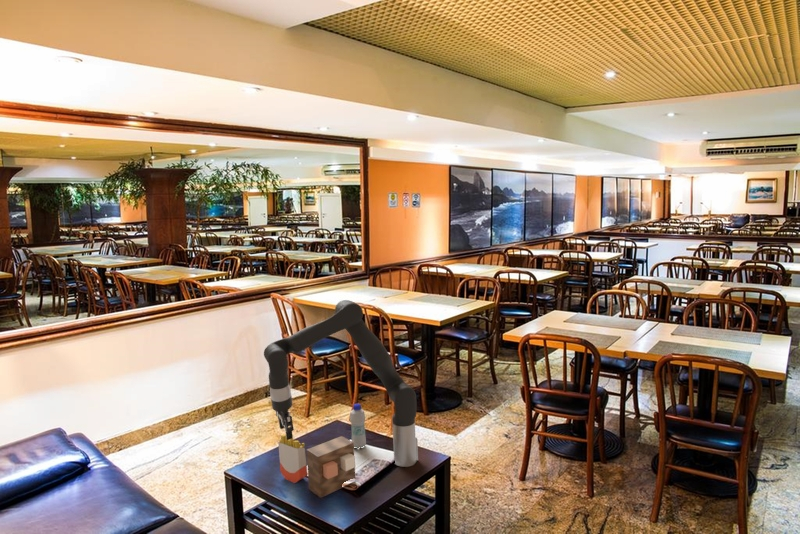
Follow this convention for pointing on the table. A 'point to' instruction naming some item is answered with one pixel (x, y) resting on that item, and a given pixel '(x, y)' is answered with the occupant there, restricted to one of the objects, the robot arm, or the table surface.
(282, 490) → the table surface
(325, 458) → the key panel
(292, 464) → the french fries container
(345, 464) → the ivory key
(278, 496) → the table surface
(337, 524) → the table surface
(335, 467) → the terracotta key
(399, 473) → the table surface
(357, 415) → the bottle
